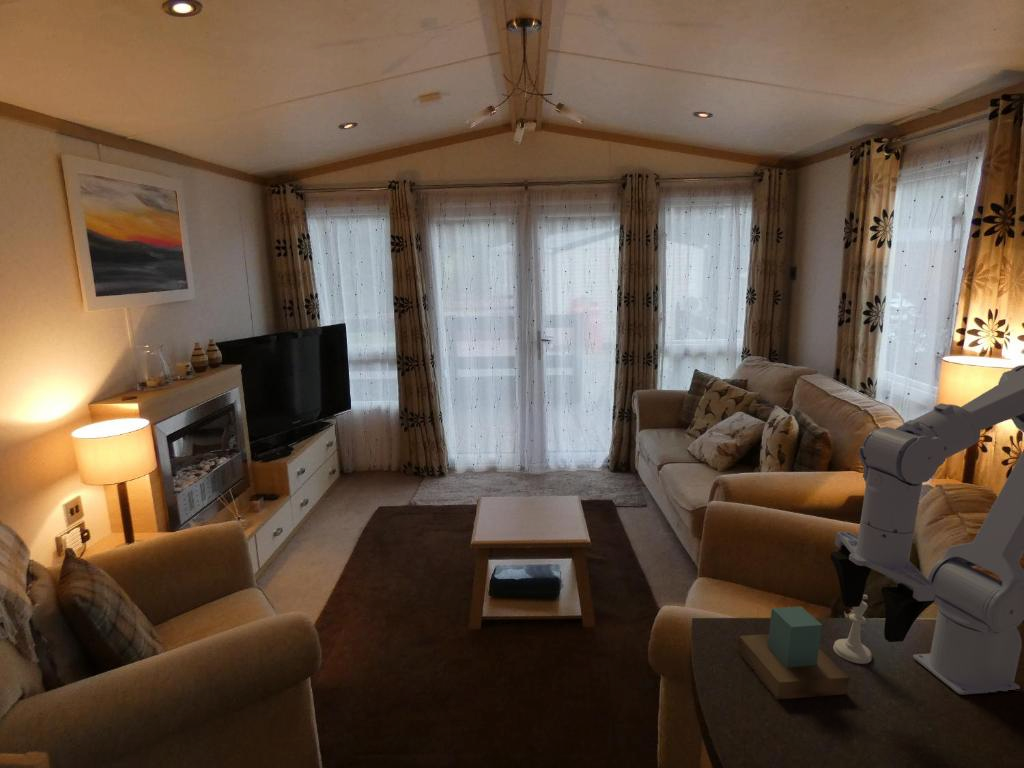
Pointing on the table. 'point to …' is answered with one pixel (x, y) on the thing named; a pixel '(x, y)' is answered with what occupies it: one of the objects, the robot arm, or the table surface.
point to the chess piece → (854, 639)
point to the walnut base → (792, 672)
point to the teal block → (794, 636)
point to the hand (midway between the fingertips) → (871, 622)
